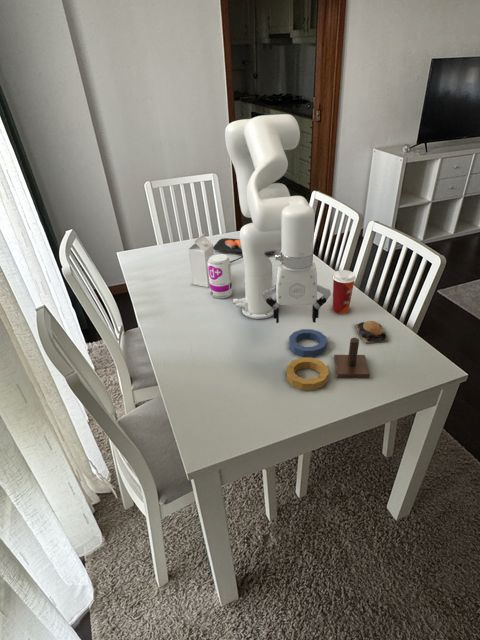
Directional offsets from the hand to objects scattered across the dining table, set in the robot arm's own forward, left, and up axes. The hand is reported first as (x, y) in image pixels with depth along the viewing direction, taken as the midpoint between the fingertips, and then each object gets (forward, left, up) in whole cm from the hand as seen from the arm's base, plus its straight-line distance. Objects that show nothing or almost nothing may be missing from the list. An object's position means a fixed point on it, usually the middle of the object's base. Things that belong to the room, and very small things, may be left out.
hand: (295, 320), depth 108 cm
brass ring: (+4, -2, -18) cm, 18 cm away
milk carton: (-34, +57, -18) cm, 69 cm away
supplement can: (-26, +47, -18) cm, 56 cm away
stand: (+17, +2, -18) cm, 24 cm away
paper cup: (+18, +35, -18) cm, 43 cm away
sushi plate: (-21, +83, -18) cm, 87 cm away
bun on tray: (+26, +20, -18) cm, 37 cm away
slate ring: (+5, +13, -18) cm, 22 cm away
